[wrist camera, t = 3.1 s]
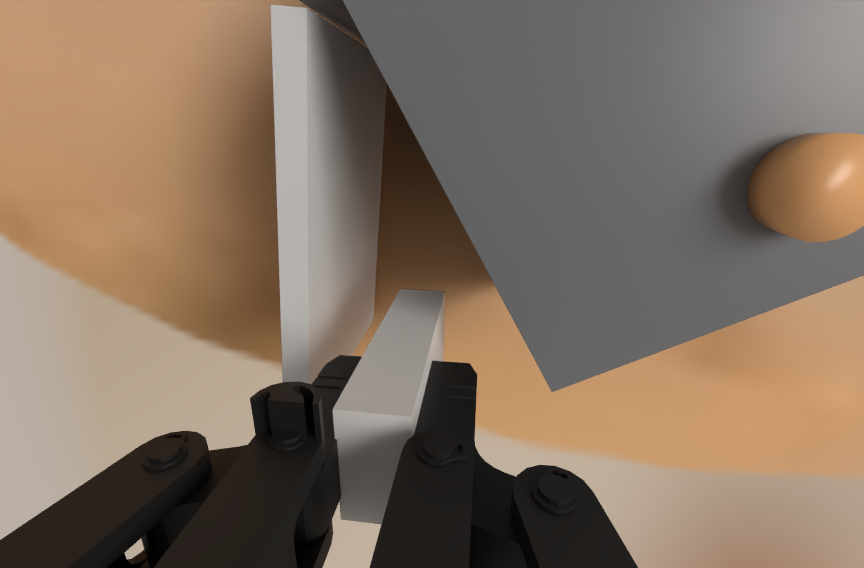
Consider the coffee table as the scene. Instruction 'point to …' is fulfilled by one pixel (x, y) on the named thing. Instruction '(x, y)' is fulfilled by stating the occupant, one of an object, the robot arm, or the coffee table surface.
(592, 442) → the coffee table surface
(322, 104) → the side door
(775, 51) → the camera body
